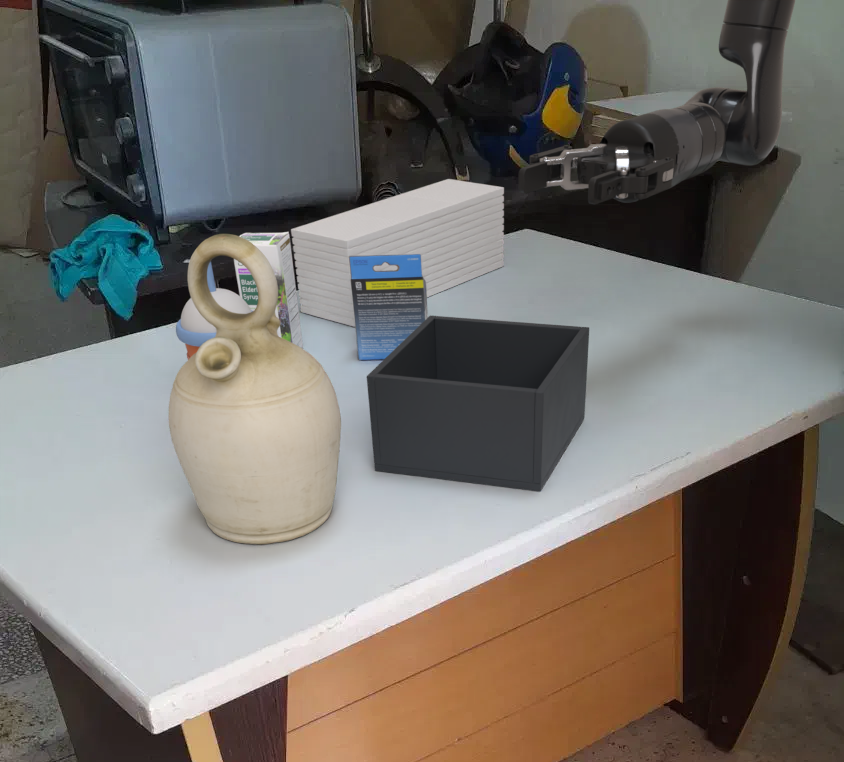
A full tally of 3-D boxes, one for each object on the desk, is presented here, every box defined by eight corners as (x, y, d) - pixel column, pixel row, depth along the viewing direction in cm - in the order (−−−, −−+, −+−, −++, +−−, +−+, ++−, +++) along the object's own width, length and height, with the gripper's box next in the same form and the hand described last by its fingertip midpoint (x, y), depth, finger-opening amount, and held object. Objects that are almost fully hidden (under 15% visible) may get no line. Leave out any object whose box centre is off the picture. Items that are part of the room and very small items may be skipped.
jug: (285, 570, 90) (237, 271, 73) (157, 531, 96) (86, 249, 80) (381, 497, 99) (357, 218, 83) (258, 466, 106) (214, 201, 89)
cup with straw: (179, 427, 114) (142, 257, 103) (220, 396, 121) (189, 232, 109) (249, 436, 112) (219, 262, 100) (287, 404, 118) (263, 237, 106)
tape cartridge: (430, 348, 129) (425, 244, 121) (427, 360, 126) (422, 253, 118) (361, 349, 130) (352, 246, 122) (357, 361, 127) (347, 255, 119)
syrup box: (249, 368, 127) (229, 243, 118) (262, 351, 131) (244, 229, 122) (293, 369, 126) (276, 243, 117) (305, 351, 131) (289, 229, 121)
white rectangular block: (354, 327, 136) (346, 240, 129) (301, 312, 142) (290, 229, 135) (503, 266, 154) (503, 187, 147) (450, 255, 159) (448, 178, 152)
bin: (584, 418, 111) (589, 327, 104) (540, 491, 98) (543, 392, 92) (433, 403, 116) (429, 315, 109) (374, 470, 104) (366, 375, 97)
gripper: (596, 107, 108) (499, 135, 100) (714, 118, 100) (619, 149, 92) (593, 186, 113) (499, 219, 105) (704, 202, 105) (613, 239, 97)
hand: (555, 186), depth 98 cm, fingers open, 8 cm apart
